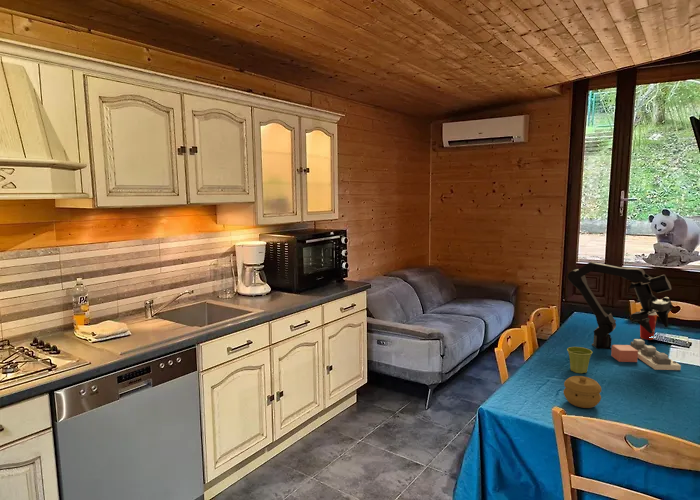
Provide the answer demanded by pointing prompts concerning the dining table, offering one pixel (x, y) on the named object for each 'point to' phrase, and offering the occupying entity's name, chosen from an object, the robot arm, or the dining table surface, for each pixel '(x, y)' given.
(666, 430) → the dining table surface
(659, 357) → the breaker right
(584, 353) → the plant pot
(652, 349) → the breaker middle
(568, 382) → the pot
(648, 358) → the breaker panel
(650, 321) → the paper cup
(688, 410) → the dining table surface
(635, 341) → the breaker left
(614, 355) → the terracotta orange block
